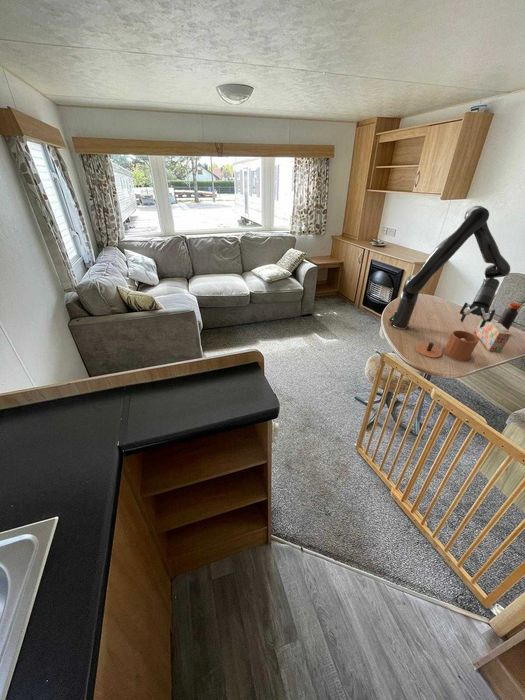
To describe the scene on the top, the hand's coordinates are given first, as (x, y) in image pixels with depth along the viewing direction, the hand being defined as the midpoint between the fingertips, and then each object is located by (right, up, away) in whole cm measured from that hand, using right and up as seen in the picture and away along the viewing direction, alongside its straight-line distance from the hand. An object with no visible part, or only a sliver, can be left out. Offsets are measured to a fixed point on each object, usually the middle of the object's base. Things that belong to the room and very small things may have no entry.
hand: (471, 324), depth 150 cm
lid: (-15, -14, +12) cm, 24 cm away
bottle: (+42, -2, +34) cm, 54 cm away
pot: (0, -16, +11) cm, 19 cm away
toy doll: (0, -15, +11) cm, 19 cm away
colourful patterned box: (+27, -9, +24) cm, 37 cm away
